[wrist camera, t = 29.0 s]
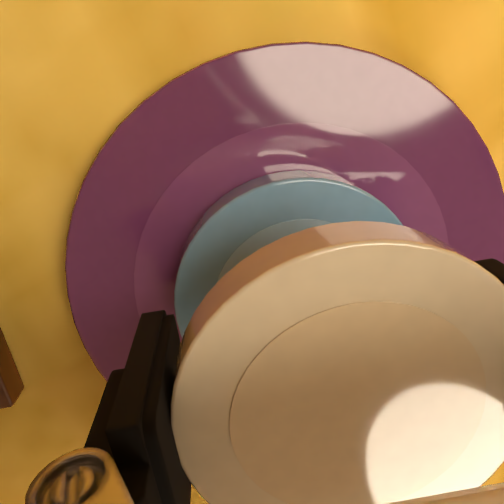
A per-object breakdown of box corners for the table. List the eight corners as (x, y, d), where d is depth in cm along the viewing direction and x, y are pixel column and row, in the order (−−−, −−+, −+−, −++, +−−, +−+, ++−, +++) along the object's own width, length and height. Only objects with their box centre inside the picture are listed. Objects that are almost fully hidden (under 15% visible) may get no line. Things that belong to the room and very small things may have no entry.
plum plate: (8, 80, 11) (-6, 80, 11) (513, 13, 12) (533, 8, 11) (130, 468, 16) (126, 486, 16) (479, 406, 17) (491, 421, 16)
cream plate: (141, 249, 8) (128, 277, 7) (517, 193, 8) (566, 211, 7) (205, 520, 10) (205, 572, 9) (489, 472, 11) (522, 517, 10)
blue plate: (154, 188, 12) (149, 199, 11) (404, 153, 12) (425, 159, 11) (198, 394, 15) (197, 421, 13) (402, 361, 15) (419, 383, 14)
